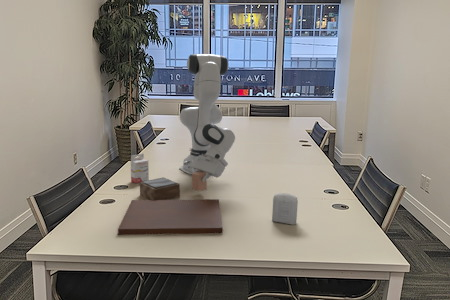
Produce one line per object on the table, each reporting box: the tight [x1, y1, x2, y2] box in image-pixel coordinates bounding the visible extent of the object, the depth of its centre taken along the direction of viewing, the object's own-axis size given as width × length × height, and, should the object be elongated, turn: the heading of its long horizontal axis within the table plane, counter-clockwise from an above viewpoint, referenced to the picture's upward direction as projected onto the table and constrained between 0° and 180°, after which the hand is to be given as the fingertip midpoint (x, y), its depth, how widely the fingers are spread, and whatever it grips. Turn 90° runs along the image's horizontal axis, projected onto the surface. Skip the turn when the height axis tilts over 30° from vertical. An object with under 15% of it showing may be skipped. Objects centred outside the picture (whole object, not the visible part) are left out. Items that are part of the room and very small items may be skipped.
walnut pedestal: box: [139, 176, 181, 200], centre depth 201 cm, size 14×14×7 cm
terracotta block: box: [191, 172, 207, 192], centre depth 202 cm, size 5×5×8 cm
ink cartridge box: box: [130, 153, 150, 184], centre depth 224 cm, size 9×5×15 cm, turn 135°
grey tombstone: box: [271, 192, 299, 225], centre depth 169 cm, size 10×4×12 cm, turn 69°
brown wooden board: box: [117, 198, 224, 236], centre depth 174 cm, size 40×3×33 cm
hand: (198, 179), depth 202 cm, fingers closed on terracotta block, 5 cm apart
